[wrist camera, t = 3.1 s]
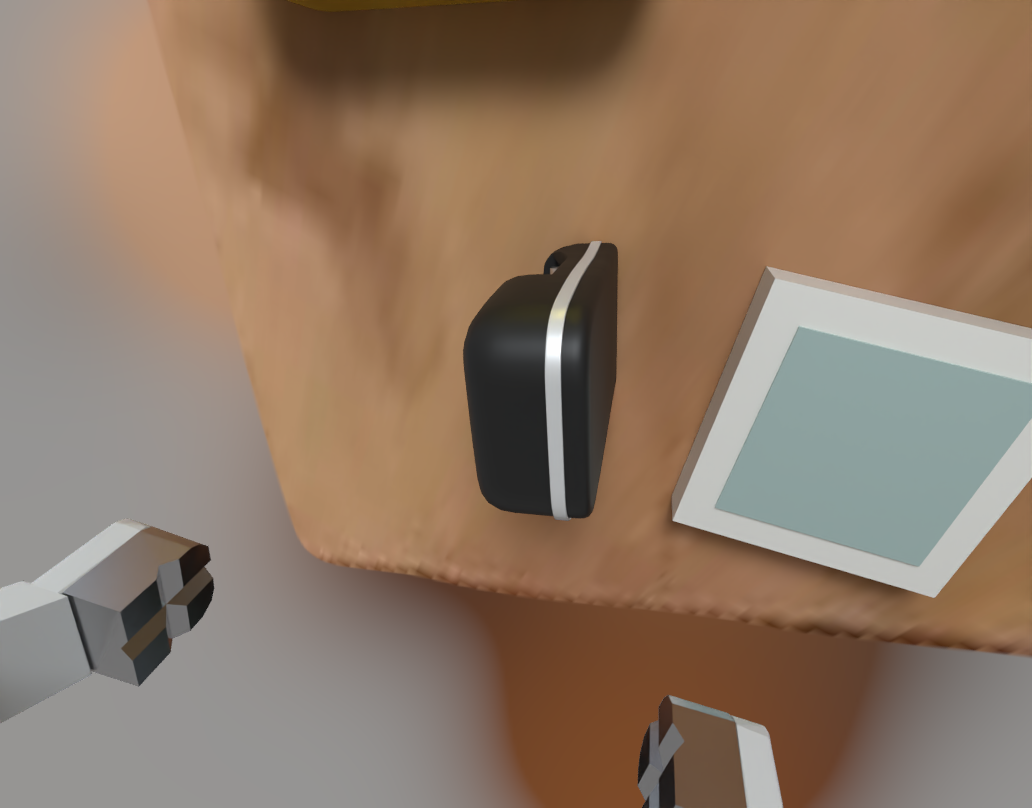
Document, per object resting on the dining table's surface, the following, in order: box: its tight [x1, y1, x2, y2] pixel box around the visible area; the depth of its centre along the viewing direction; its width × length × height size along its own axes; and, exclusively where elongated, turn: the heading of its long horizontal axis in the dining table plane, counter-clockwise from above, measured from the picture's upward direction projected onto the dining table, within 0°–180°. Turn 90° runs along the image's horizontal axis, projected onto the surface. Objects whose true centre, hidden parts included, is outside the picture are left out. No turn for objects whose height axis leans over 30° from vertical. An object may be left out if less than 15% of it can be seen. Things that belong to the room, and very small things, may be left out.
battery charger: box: [463, 241, 618, 521], centre depth 20 cm, size 7×4×11 cm, turn 4°
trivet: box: [672, 266, 1032, 598], centre depth 23 cm, size 12×12×2 cm
